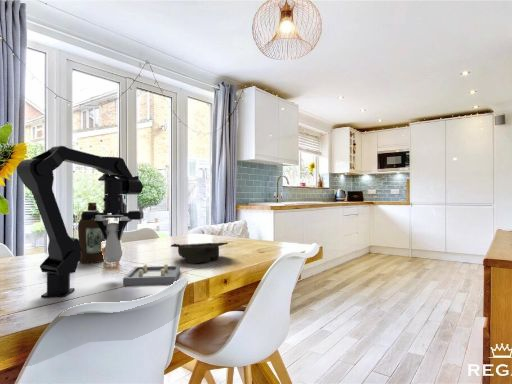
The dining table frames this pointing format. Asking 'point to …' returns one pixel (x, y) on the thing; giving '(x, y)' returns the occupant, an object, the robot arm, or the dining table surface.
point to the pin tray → (152, 275)
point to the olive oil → (90, 239)
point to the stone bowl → (199, 251)
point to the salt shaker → (112, 244)
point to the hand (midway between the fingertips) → (113, 240)
